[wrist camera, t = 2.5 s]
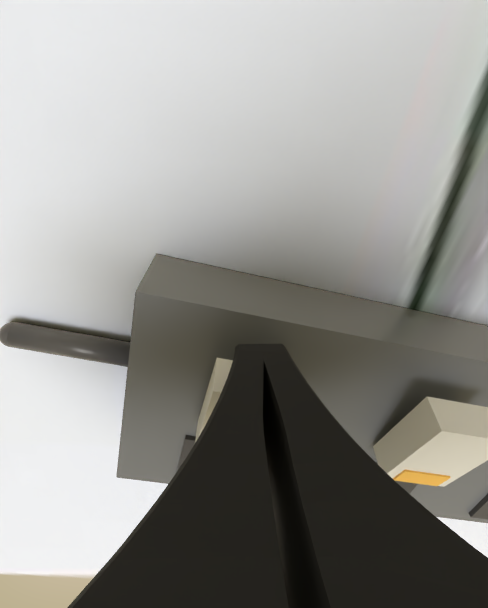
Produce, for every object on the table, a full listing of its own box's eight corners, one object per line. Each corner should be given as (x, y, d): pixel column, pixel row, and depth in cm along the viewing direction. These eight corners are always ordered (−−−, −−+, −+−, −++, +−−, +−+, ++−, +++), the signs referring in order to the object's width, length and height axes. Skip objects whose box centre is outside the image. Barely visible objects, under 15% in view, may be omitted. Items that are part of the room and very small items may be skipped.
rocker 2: (495, 408, 11) (517, 445, 10) (431, 455, 14) (444, 488, 13) (426, 396, 11) (443, 433, 10) (373, 446, 13) (382, 480, 12)
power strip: (637, 358, 16) (724, 412, 13) (515, 476, 20) (561, 535, 17) (-4, 219, 12) (-78, 252, 9) (16, 402, 16) (-30, 464, 13)
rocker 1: (299, 372, 10) (303, 408, 10) (266, 431, 13) (267, 465, 12) (216, 357, 10) (213, 393, 9) (198, 421, 12) (193, 455, 11)
